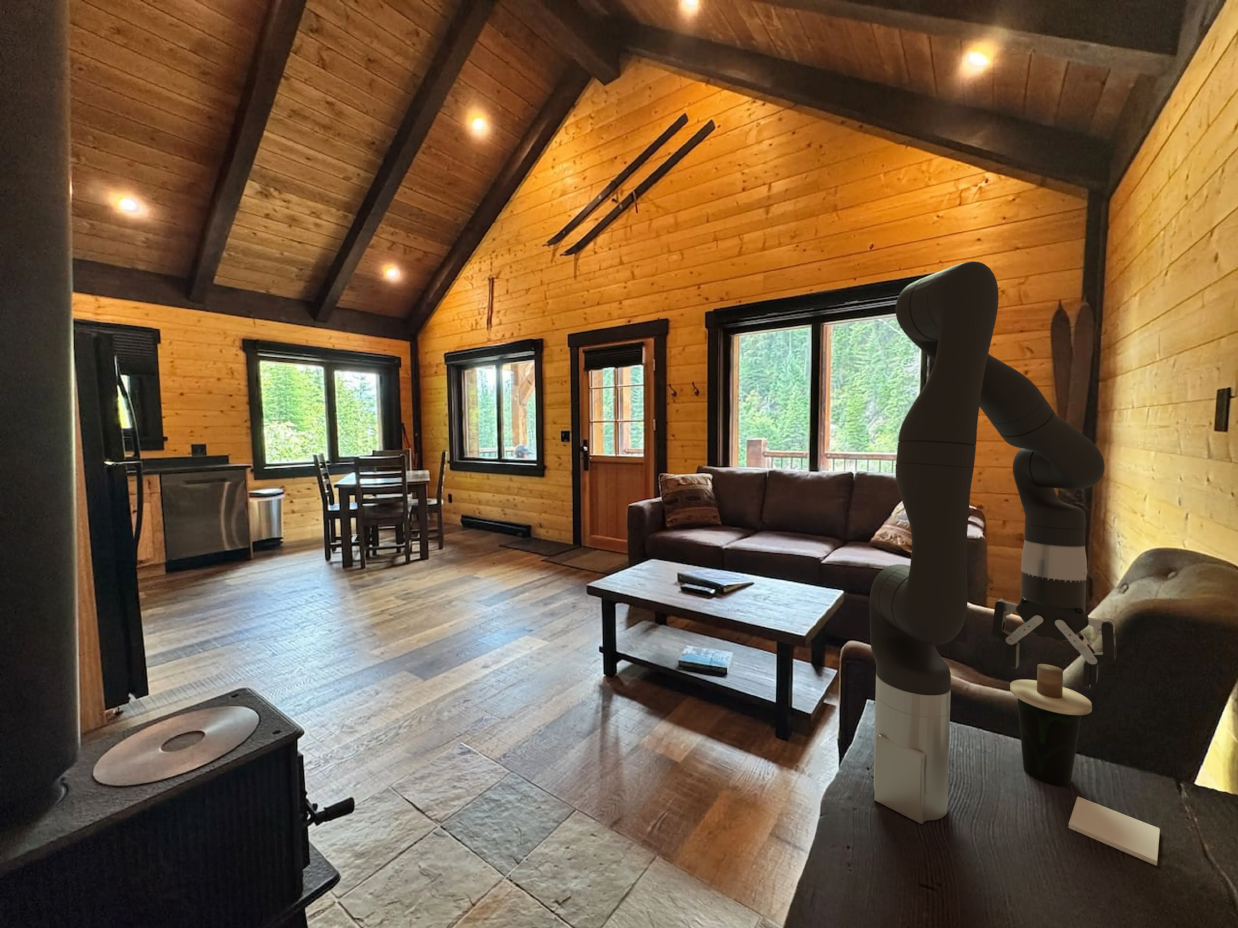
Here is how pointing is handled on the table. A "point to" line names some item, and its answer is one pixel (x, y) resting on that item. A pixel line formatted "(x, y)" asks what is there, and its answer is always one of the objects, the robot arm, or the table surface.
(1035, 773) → the cup
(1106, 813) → the plate
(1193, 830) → the table surface
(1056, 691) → the lid
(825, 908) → the table surface
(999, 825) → the table surface
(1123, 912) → the table surface
